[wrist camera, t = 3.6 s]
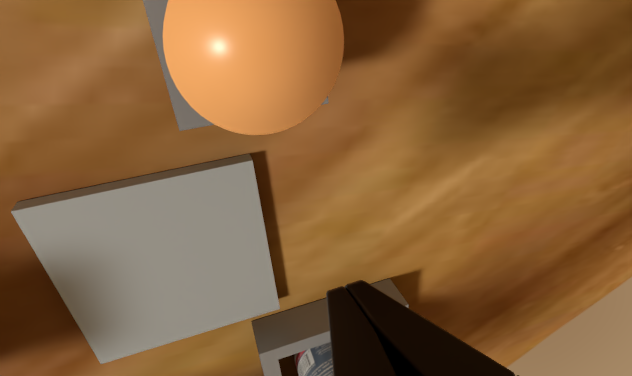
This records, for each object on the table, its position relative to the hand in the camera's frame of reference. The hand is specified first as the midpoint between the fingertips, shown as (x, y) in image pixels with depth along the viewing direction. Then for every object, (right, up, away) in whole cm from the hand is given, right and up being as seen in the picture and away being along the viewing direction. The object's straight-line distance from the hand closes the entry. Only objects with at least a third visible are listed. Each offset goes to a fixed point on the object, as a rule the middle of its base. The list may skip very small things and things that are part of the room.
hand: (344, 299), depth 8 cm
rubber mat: (-8, -1, +12) cm, 14 cm away
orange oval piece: (-4, +9, +6) cm, 12 cm away
